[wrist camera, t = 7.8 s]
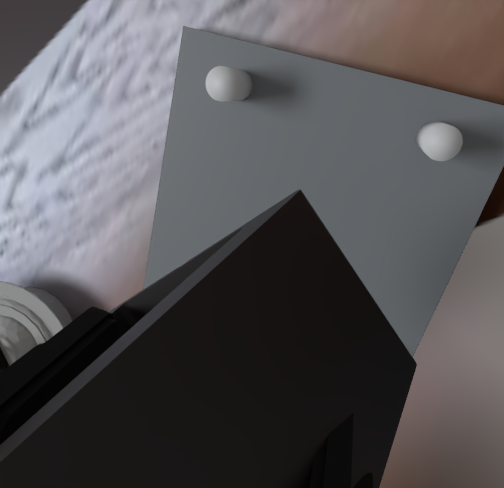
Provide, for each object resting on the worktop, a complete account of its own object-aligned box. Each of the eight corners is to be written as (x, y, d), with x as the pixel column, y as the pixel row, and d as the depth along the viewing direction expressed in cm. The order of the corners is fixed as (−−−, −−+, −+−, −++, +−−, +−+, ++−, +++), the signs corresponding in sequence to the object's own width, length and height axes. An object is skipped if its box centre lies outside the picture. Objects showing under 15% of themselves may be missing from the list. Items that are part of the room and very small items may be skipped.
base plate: (520, 111, 21) (555, 114, 17) (392, 385, 28) (396, 431, 24) (192, 29, 24) (158, 16, 20) (148, 297, 30) (117, 326, 27)
